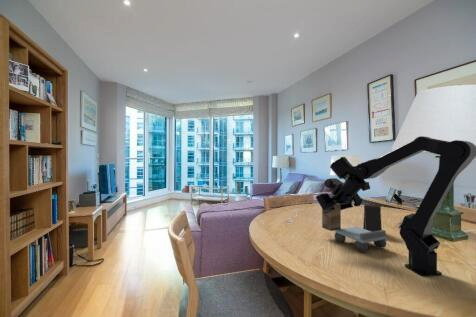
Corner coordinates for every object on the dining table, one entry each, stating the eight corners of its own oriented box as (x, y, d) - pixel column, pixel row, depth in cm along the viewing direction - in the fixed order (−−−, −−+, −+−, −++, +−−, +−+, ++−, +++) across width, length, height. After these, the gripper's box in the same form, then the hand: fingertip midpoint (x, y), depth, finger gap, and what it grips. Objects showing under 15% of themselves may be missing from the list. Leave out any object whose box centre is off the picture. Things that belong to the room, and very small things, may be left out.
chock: (340, 229, 99) (340, 202, 99) (330, 230, 97) (330, 203, 97) (331, 226, 104) (331, 200, 104) (322, 227, 102) (322, 201, 102)
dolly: (386, 249, 89) (386, 231, 88) (364, 253, 85) (364, 235, 84) (355, 237, 102) (355, 221, 101) (334, 240, 98) (334, 224, 97)
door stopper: (382, 236, 102) (382, 207, 102) (365, 235, 104) (366, 206, 104) (378, 230, 110) (378, 203, 110) (363, 229, 112) (363, 202, 112)
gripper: (356, 171, 100) (336, 194, 110) (319, 172, 93) (301, 197, 103) (373, 193, 93) (350, 215, 103) (334, 196, 86) (313, 220, 96)
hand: (328, 211), depth 102 cm, fingers closed on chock, 5 cm apart
